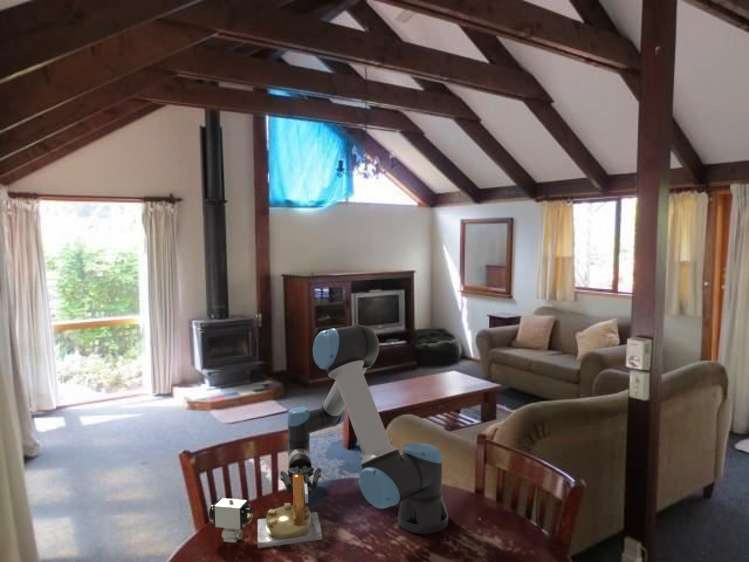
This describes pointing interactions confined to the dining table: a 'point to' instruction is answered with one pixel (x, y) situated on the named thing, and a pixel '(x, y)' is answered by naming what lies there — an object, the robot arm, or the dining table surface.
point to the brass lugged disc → (290, 514)
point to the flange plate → (269, 540)
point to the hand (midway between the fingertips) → (303, 498)
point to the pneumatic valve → (231, 517)
